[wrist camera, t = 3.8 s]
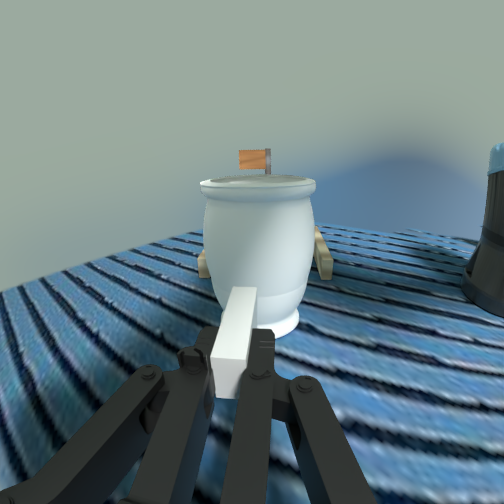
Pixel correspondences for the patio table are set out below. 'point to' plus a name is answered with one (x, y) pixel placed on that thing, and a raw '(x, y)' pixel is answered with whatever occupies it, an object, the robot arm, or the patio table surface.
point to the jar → (260, 242)
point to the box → (321, 252)
